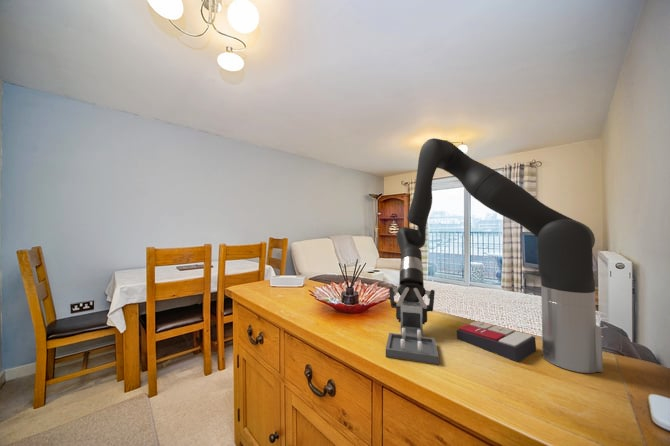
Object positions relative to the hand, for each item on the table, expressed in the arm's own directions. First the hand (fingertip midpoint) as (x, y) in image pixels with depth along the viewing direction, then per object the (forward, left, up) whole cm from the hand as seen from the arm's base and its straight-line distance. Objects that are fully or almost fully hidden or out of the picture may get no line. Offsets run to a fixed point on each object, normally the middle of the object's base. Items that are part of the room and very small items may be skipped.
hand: (411, 321), depth 71 cm
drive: (0, -2, -4) cm, 5 cm away
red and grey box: (-21, -2, -5) cm, 22 cm away
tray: (0, +8, -4) cm, 9 cm away
